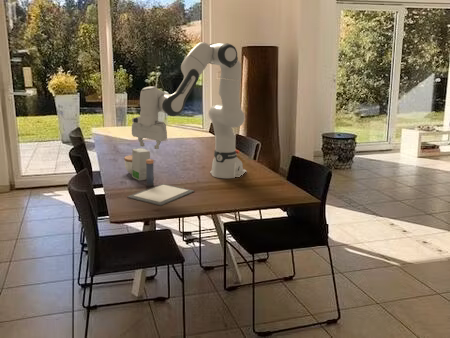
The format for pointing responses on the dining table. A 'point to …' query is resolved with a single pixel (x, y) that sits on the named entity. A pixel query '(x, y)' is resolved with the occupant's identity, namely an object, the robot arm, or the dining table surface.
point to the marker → (149, 172)
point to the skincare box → (139, 163)
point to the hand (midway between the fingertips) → (149, 147)
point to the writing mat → (160, 194)
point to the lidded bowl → (128, 163)
